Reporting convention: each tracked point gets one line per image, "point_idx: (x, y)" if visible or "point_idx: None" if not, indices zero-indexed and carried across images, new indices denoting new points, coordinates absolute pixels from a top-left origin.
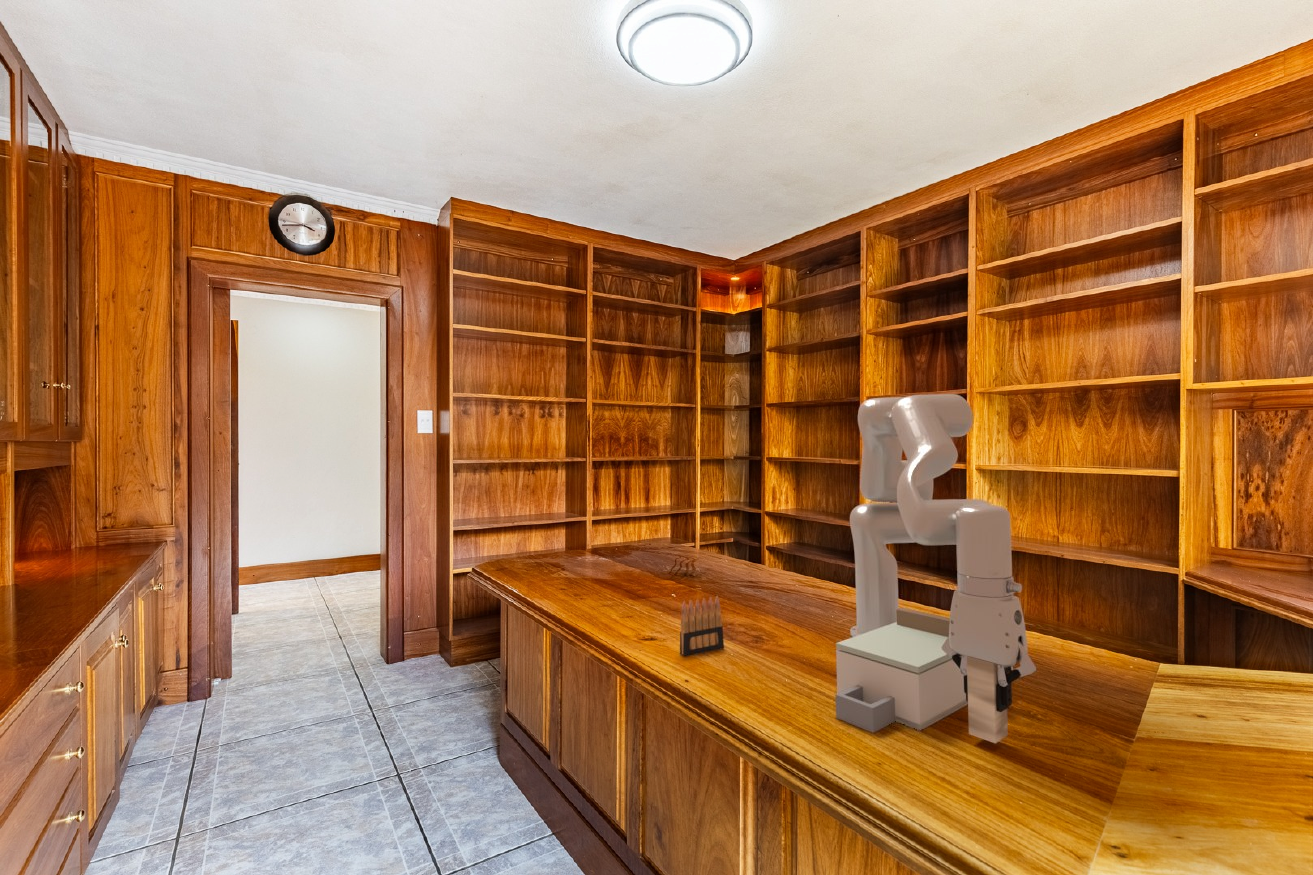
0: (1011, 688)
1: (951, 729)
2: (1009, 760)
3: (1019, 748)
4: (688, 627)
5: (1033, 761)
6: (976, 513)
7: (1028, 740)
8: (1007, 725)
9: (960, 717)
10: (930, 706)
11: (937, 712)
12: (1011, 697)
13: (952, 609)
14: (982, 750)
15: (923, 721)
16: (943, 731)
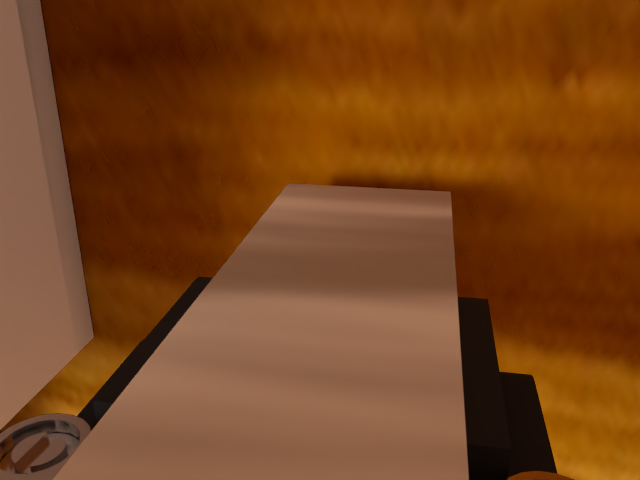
0: (555, 468)
1: (167, 218)
2: (518, 340)
3: (514, 177)
4: None
5: (619, 273)
6: None
7: (523, 27)
8: (451, 211)
9: (104, 26)
10: (17, 285)
11: (39, 189)
12: (537, 404)
13: None
14: None
15: (68, 324)
16: (157, 267)
